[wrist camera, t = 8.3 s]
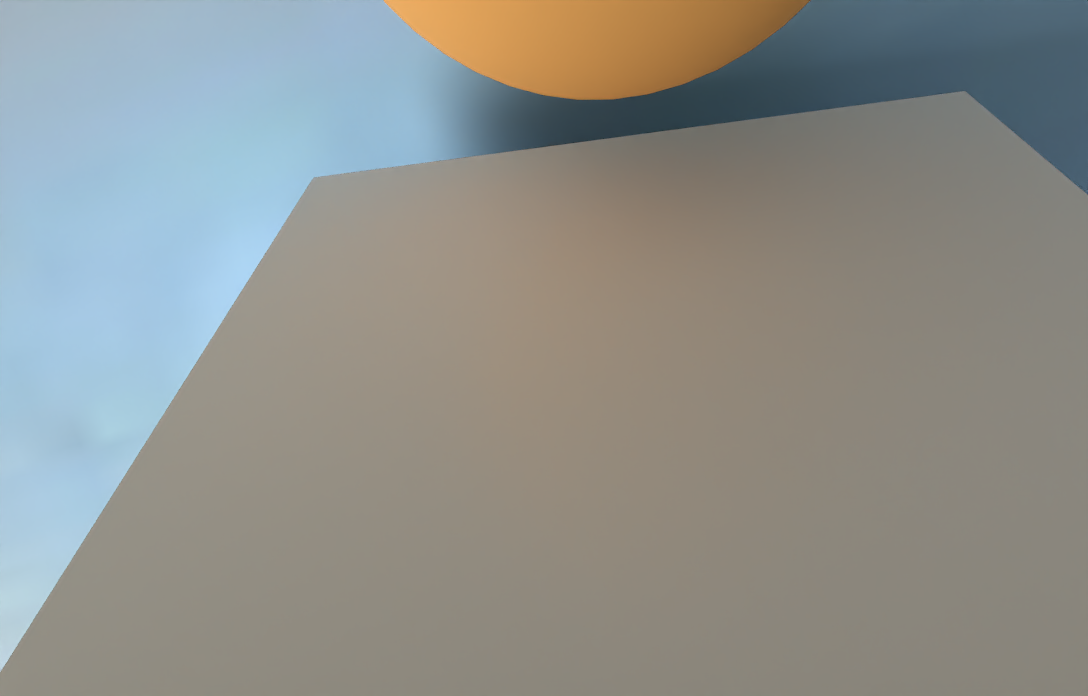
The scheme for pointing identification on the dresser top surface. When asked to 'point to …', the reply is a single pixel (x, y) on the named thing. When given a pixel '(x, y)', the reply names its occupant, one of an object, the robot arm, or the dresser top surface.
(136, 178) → the dresser top surface
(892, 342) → the white cube
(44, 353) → the dresser top surface
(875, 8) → the dresser top surface
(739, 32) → the ball
